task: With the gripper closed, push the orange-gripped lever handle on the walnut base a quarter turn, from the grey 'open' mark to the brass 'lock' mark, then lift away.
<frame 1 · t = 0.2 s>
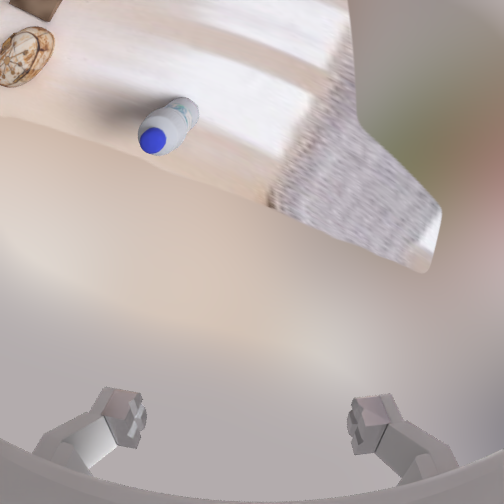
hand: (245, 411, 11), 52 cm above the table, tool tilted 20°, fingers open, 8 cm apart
bottle: (184, 112, 52), on the table
trinket box: (31, 55, 42), on the table
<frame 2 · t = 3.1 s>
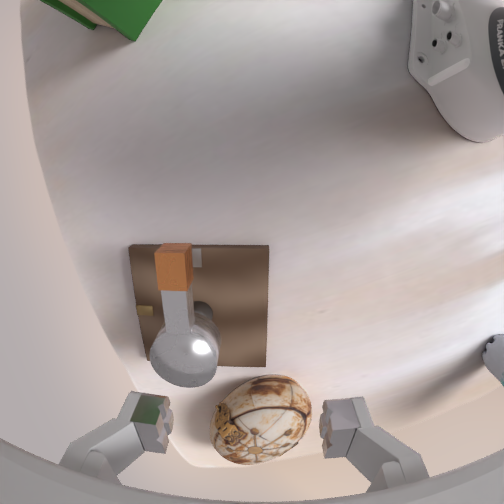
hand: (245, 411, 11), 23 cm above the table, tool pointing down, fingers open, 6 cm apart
bottle: (492, 346, 37), on the table
trinket box: (259, 406, 40), on the table
lever handle: (182, 317, 26), point 8 cm above the table, hinge at 0.0°
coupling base: (201, 307, 35), on the table
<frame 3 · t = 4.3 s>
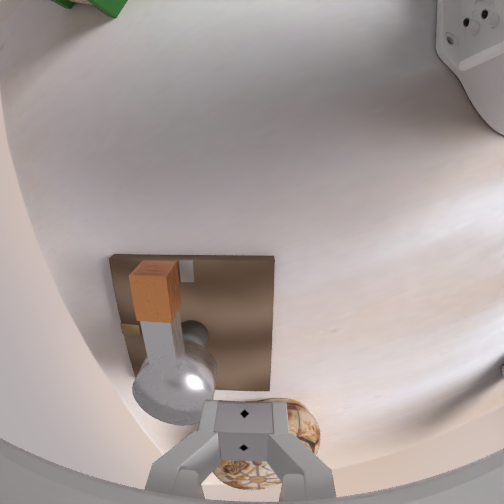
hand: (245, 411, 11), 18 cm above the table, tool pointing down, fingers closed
trinket box: (261, 428, 36), on the table
lever handle: (169, 348, 21), point 8 cm above the table, hinge at 0.0°
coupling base: (195, 326, 30), on the table
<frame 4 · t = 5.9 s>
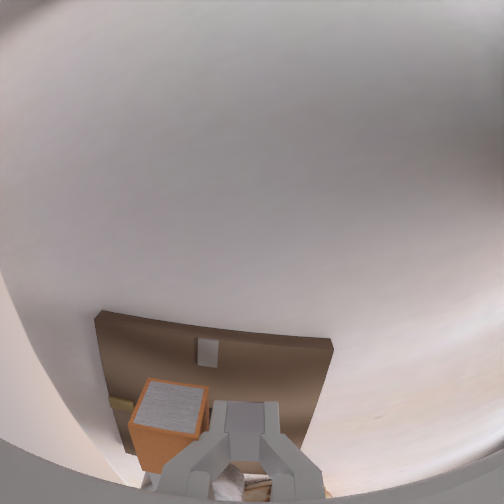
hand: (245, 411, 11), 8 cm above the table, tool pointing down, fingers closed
trinket box: (267, 499, 27), on the table
lever handle: (186, 476, 12), point 8 cm above the table, hinge at 1.6°, touching gripper
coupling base: (208, 408, 21), on the table
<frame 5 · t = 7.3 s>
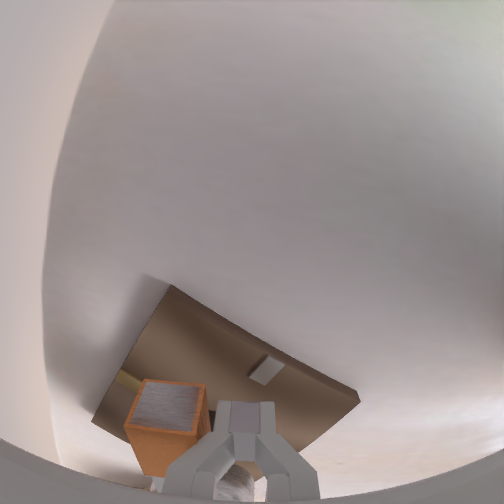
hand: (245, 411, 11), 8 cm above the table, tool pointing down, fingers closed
lever handle: (192, 480, 12), point 8 cm above the table, hinge at 34.5°, touching gripper
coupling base: (213, 412, 21), on the table
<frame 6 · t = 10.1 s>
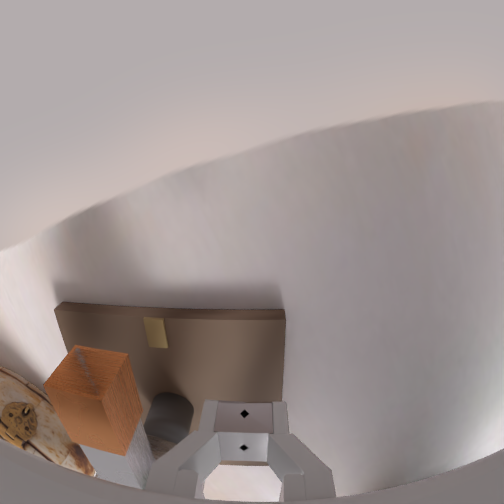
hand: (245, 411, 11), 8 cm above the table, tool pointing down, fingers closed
trinket box: (39, 411, 24), on the table
lever handle: (133, 458, 12), point 8 cm above the table, hinge at 87.8°
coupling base: (176, 396, 21), on the table
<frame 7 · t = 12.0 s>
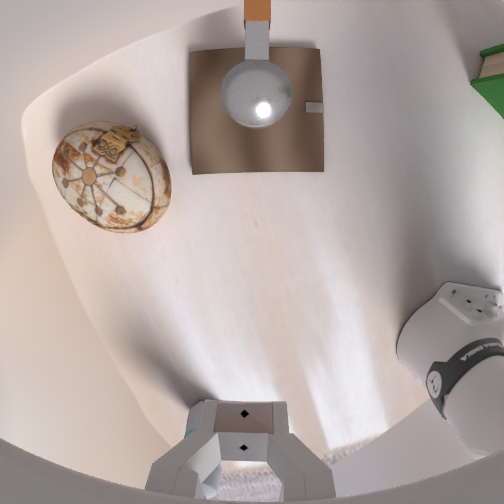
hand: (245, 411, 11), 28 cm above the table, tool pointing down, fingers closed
bottle: (208, 408, 48), on the table
trinket box: (121, 173, 36), on the table
lever handle: (256, 60, 24), point 8 cm above the table, hinge at 87.8°
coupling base: (256, 108, 33), on the table
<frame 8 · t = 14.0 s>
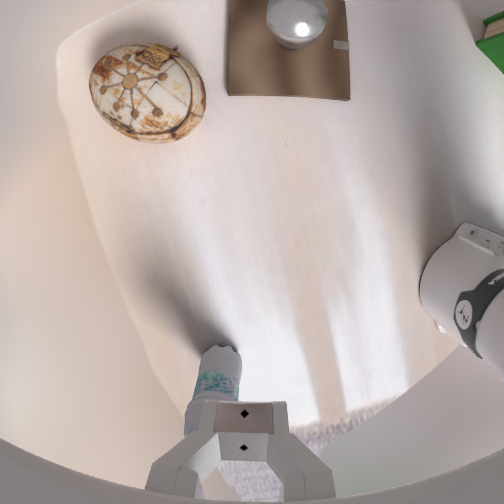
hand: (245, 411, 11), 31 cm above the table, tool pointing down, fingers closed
bottle: (222, 356, 47), on the table
trinket box: (154, 95, 35), on the table
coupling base: (288, 43, 33), on the table
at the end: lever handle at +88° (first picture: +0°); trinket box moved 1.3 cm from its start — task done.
